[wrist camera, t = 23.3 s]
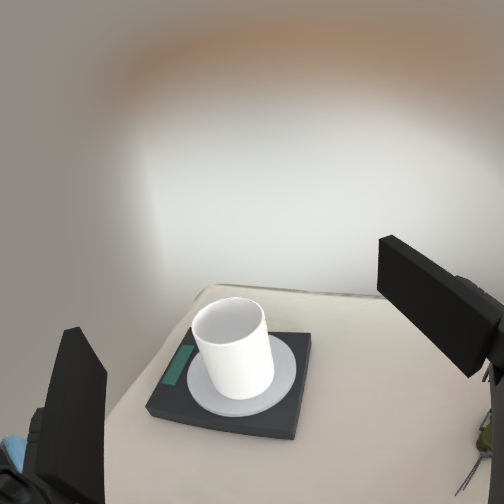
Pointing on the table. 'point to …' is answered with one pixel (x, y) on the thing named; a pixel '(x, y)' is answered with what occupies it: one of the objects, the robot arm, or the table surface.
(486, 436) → the landmine
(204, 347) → the mug
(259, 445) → the table surface
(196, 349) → the scale
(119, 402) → the table surface
